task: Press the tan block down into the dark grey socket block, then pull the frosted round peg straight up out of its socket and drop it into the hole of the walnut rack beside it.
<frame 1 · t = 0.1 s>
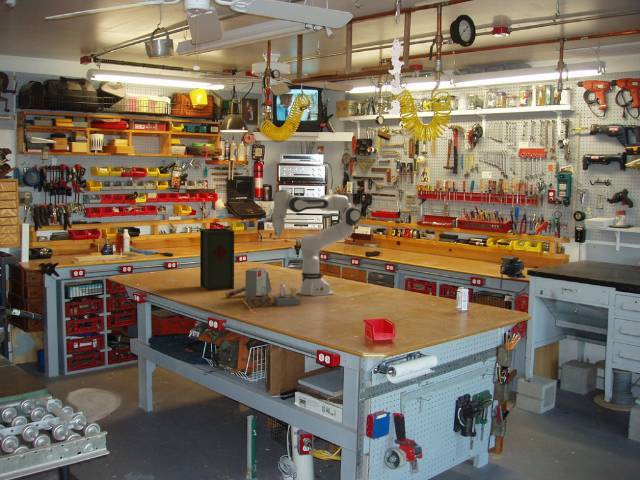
hand: (277, 235, 423), 39 cm above the workbench, tool pointing down, fingers open, 8 cm apart
first aid box: (217, 287, 448), on the workbench
hard drive box: (255, 300, 407), on the workbench
socket block: (287, 305, 394), on the workbench
hammer: (247, 296, 422), on the workbench
tan block: (293, 293, 395), point 7 cm above the workbench, slide at 0.0 cm
rack: (259, 306, 390), on the workbench
frosted round peg: (282, 304, 394), point 1 cm above the workbench, touching socket block
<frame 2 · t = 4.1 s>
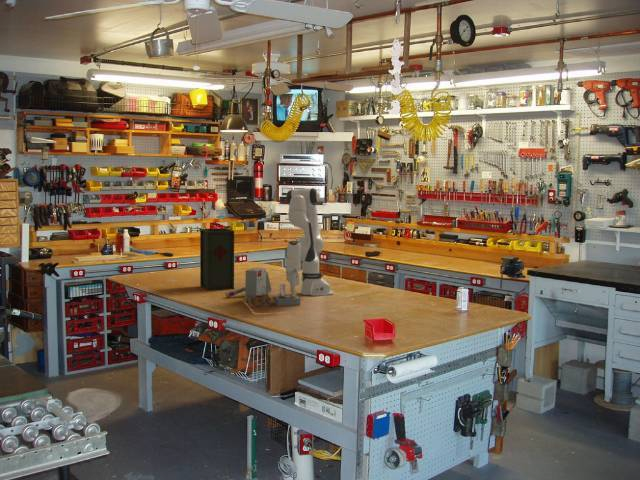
hand: (292, 290, 394), 9 cm above the workbench, tool pointing down, fingers closed, pressing on tan block
tan block: (293, 295, 395), point 6 cm above the workbench, slide at 1.0 cm, touching gripper
everything else where it was.
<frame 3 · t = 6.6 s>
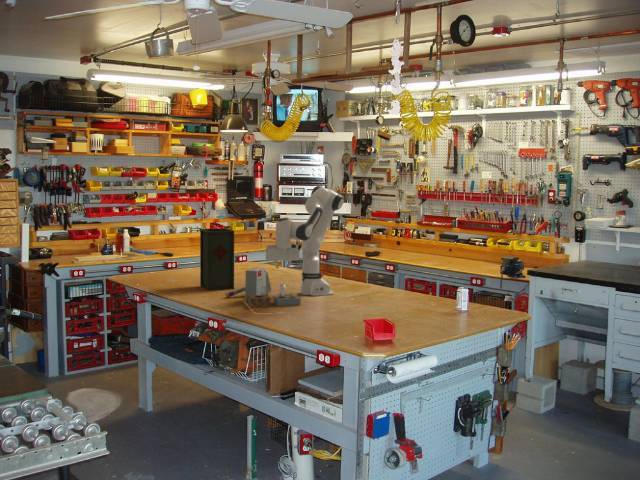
hand: (282, 267, 391), 23 cm above the workbench, tool pointing down, fingers open, 5 cm apart
tan block: (293, 298, 395), point 4 cm above the workbench, slide at 2.6 cm
everything else where it was.
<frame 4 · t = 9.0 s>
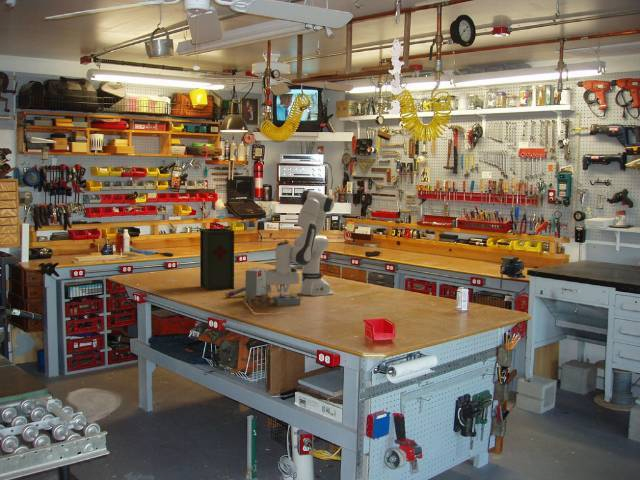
hand: (282, 291, 393), 9 cm above the workbench, tool pointing down, fingers closed on frosted round peg, 3 cm apart
frosted round peg: (282, 304, 394), point 1 cm above the workbench, touching gripper, socket block
everything else where it was.
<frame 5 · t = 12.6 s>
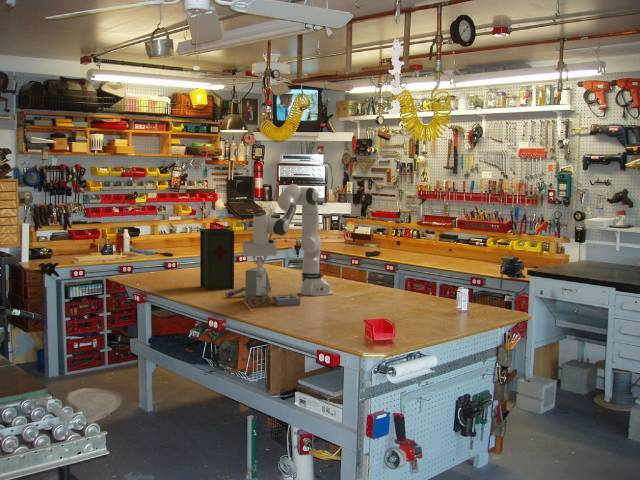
hand: (259, 263, 387), 26 cm above the workbench, tool pointing down, fingers closed on frosted round peg, 3 cm apart
frosted round peg: (259, 277, 387), point 18 cm above the workbench, touching gripper
everything else where it was.
when the fingers open (12 cm above the workbench, at t = 16.2 s): frosted round peg drops 1 cm, resting on rack.
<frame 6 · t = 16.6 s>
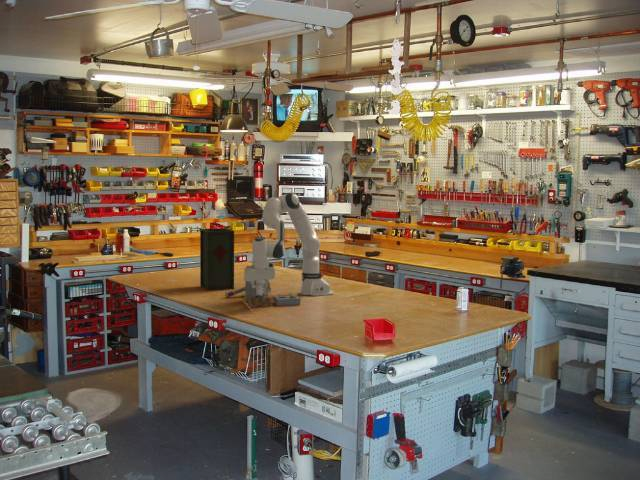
hand: (259, 287, 389), 12 cm above the workbench, tool pointing down, fingers open, 7 cm apart
frosted round peg: (260, 303, 389), point 2 cm above the workbench, touching rack
everything else where it was.
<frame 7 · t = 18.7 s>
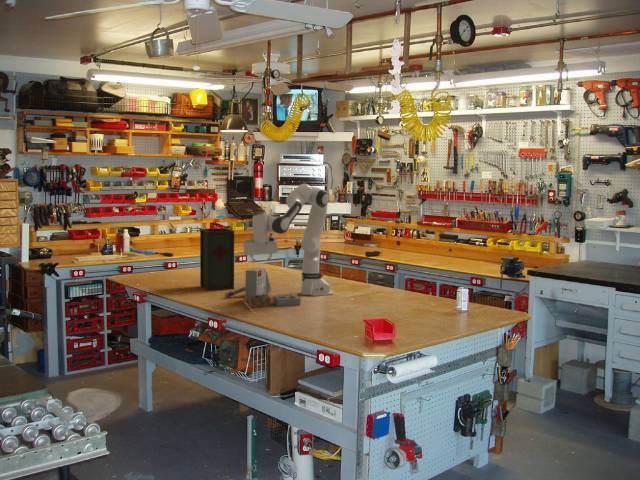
hand: (261, 261, 392), 26 cm above the workbench, tool pointing down, fingers open, 8 cm apart
nothing on the workbench moved.
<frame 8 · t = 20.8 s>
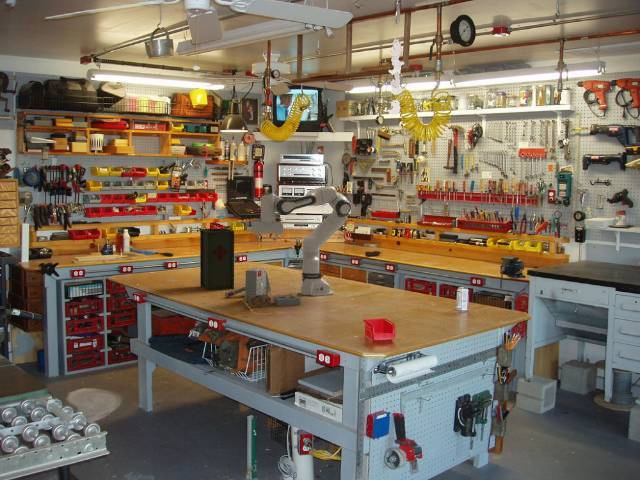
hand: (267, 240, 409), 37 cm above the workbench, tool pointing down, fingers open, 8 cm apart
nothing on the workbench moved.
at the end: frosted round peg 0.6 cm off-centre on the rack, point 2.0 cm above the rack's base; frosted round peg tilted 0°; tan block slide at 2.6 cm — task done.
